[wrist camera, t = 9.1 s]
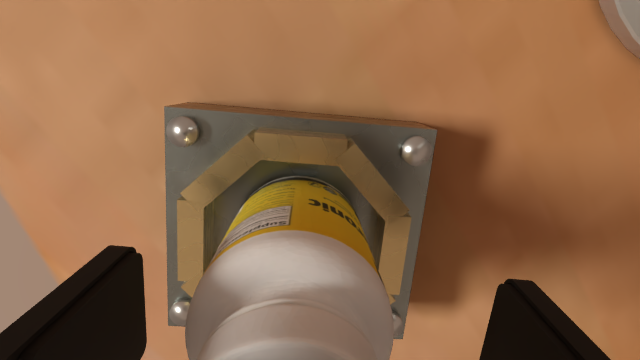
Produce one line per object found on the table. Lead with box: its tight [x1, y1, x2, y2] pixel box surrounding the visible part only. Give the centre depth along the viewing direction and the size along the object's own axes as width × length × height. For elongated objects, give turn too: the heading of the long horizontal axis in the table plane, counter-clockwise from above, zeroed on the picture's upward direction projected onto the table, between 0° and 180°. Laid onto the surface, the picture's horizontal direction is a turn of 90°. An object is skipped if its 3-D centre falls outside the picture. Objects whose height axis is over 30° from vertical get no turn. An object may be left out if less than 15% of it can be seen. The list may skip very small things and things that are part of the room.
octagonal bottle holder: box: [164, 102, 437, 339], centre depth 17 cm, size 11×10×5 cm
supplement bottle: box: [185, 176, 394, 360], centre depth 12 cm, size 5×5×10 cm
